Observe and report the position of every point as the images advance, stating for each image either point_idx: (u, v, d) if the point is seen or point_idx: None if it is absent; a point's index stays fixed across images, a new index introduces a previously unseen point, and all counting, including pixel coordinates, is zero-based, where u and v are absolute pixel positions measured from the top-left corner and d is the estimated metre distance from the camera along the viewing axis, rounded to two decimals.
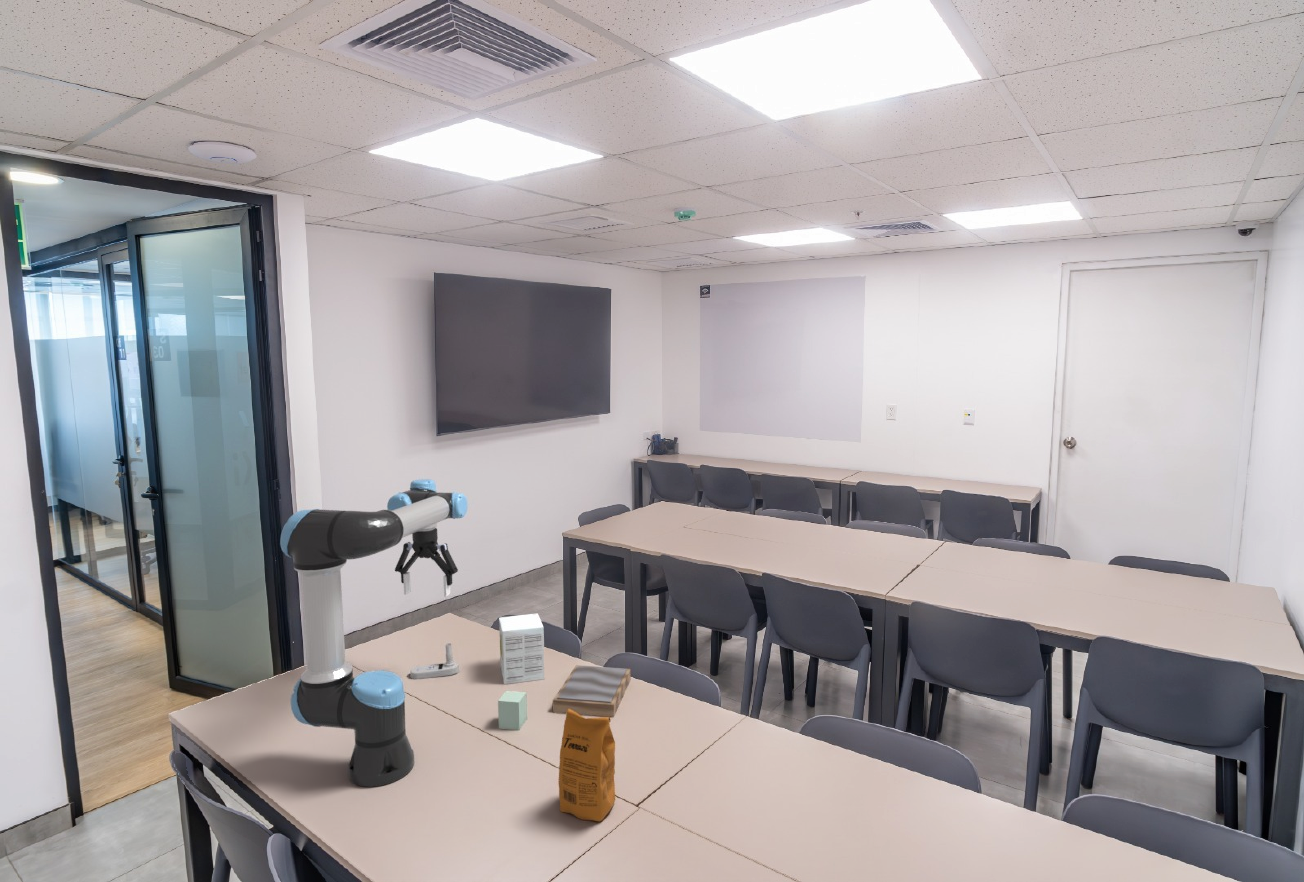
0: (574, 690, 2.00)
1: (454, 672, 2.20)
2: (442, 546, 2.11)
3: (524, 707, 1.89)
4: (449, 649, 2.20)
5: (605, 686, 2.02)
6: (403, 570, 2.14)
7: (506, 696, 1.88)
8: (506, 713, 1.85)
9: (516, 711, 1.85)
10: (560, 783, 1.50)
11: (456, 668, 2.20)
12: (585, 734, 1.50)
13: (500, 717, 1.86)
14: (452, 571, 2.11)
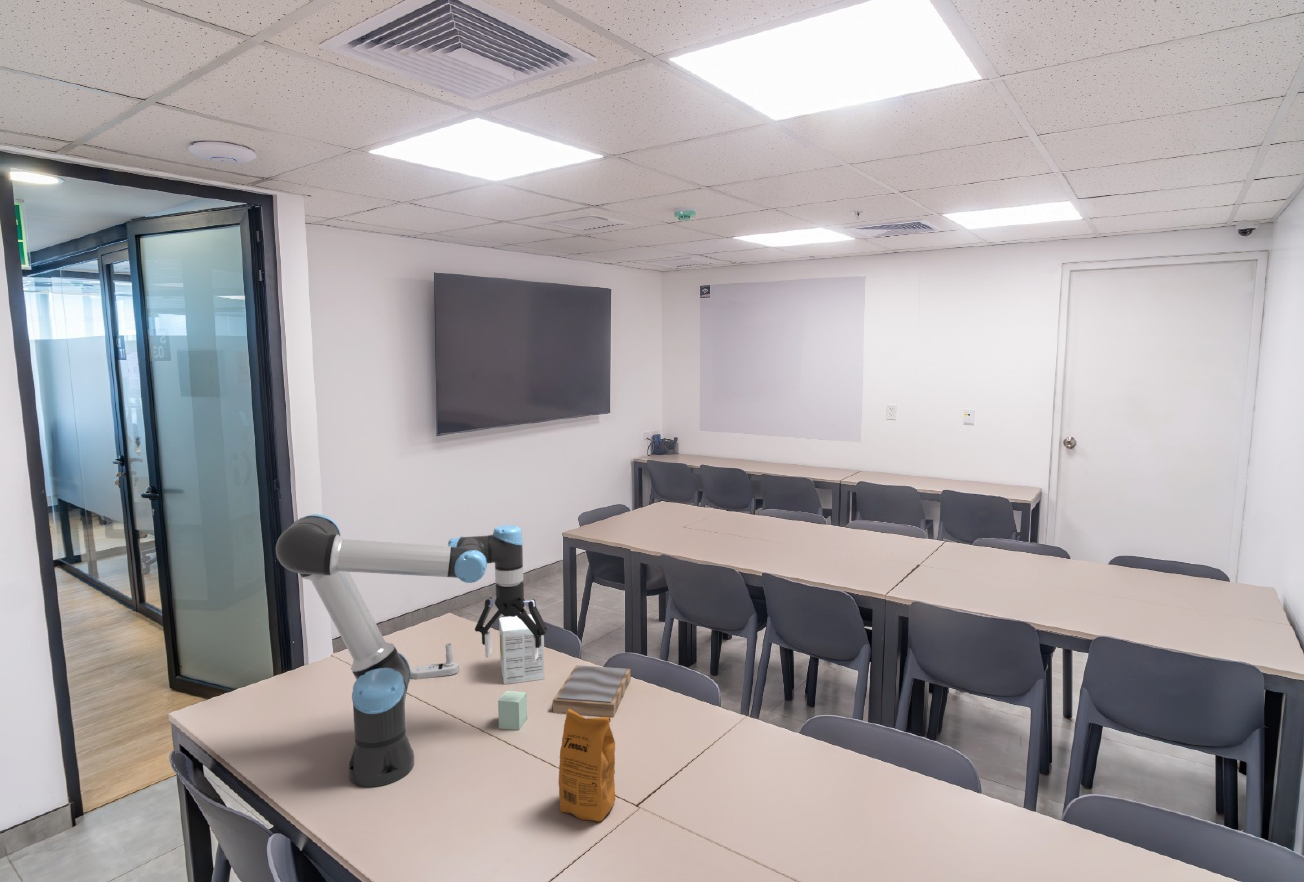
0: (574, 690, 2.00)
1: (454, 672, 2.20)
2: (530, 603, 1.83)
3: (524, 707, 1.89)
4: (449, 649, 2.20)
5: (605, 686, 2.02)
6: (484, 630, 1.86)
7: (506, 696, 1.88)
8: (506, 713, 1.85)
9: (516, 711, 1.85)
10: (560, 783, 1.50)
11: (456, 668, 2.20)
12: (585, 734, 1.50)
13: (500, 717, 1.86)
14: (542, 632, 1.83)
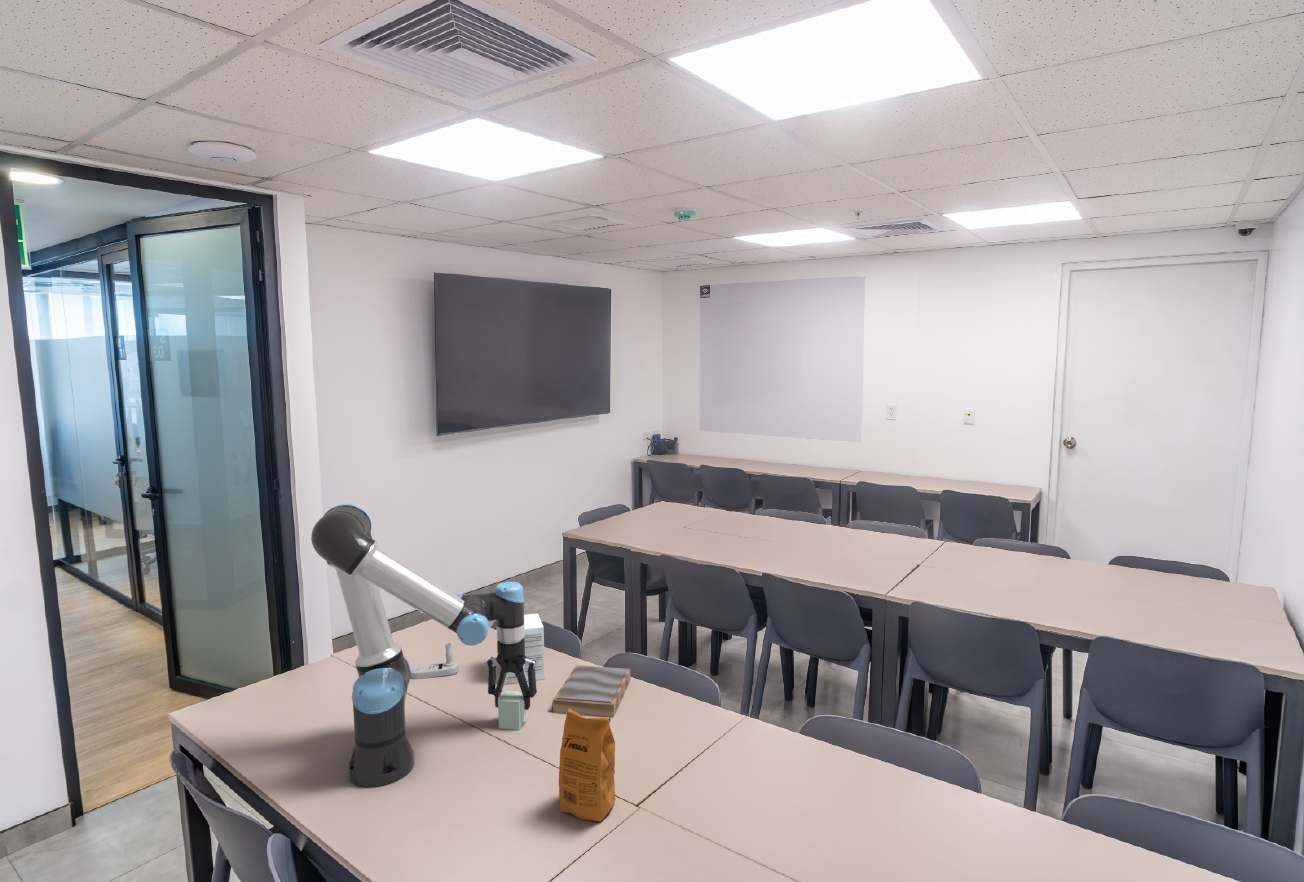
0: (574, 690, 2.00)
1: (454, 672, 2.20)
2: (531, 665, 1.85)
3: None
4: (449, 649, 2.20)
5: (605, 686, 2.02)
6: (497, 692, 1.87)
7: (506, 696, 1.88)
8: (506, 713, 1.85)
9: (516, 710, 1.85)
10: (560, 783, 1.50)
11: (456, 668, 2.20)
12: (585, 734, 1.50)
13: (500, 717, 1.86)
14: (531, 694, 1.86)
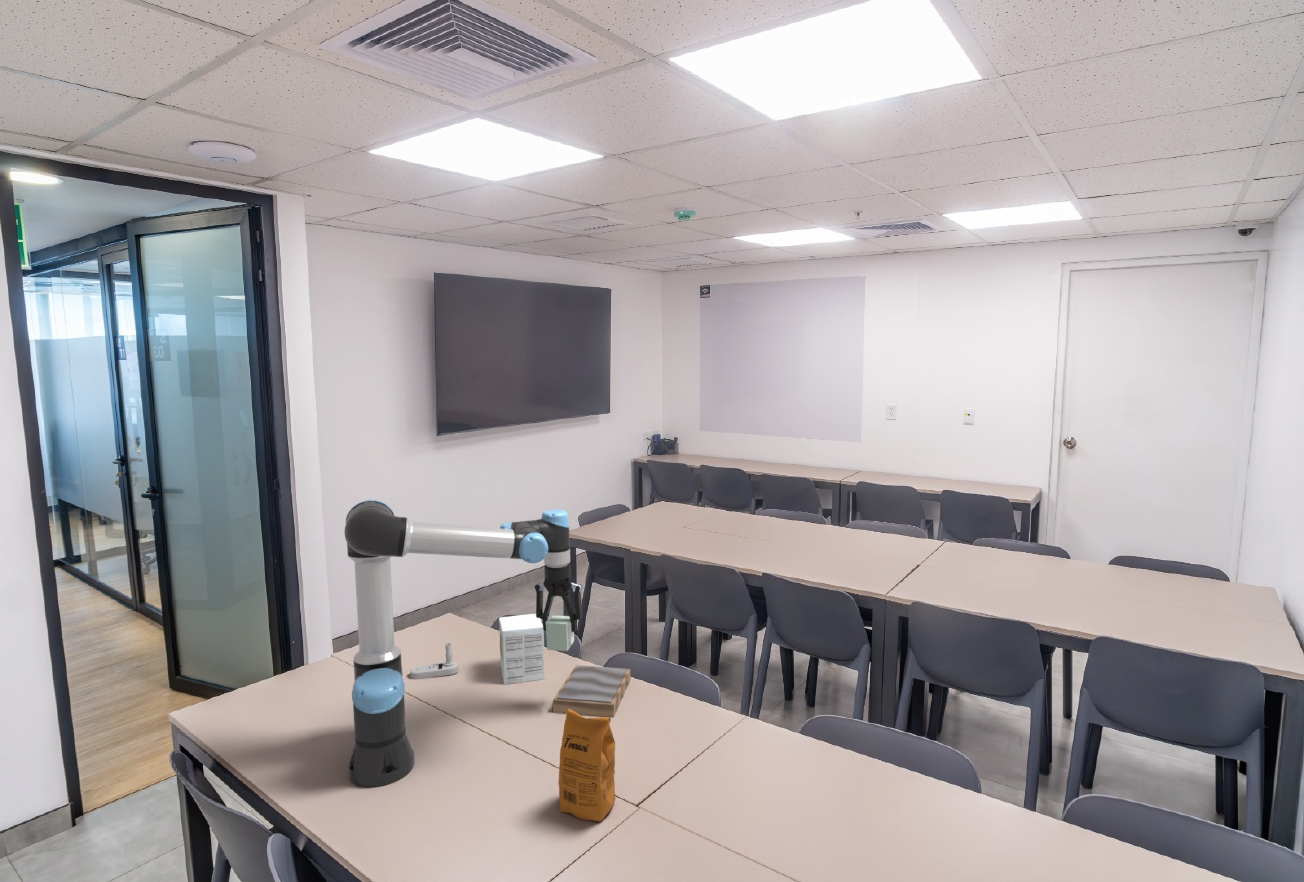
0: (574, 690, 2.00)
1: (454, 672, 2.20)
2: (578, 588, 1.92)
3: None
4: (449, 649, 2.20)
5: (605, 686, 2.02)
6: (545, 616, 1.95)
7: (553, 619, 1.95)
8: (554, 635, 1.93)
9: (564, 632, 1.92)
10: (560, 783, 1.50)
11: (456, 668, 2.20)
12: (585, 734, 1.50)
13: (548, 639, 1.93)
14: (578, 616, 1.93)
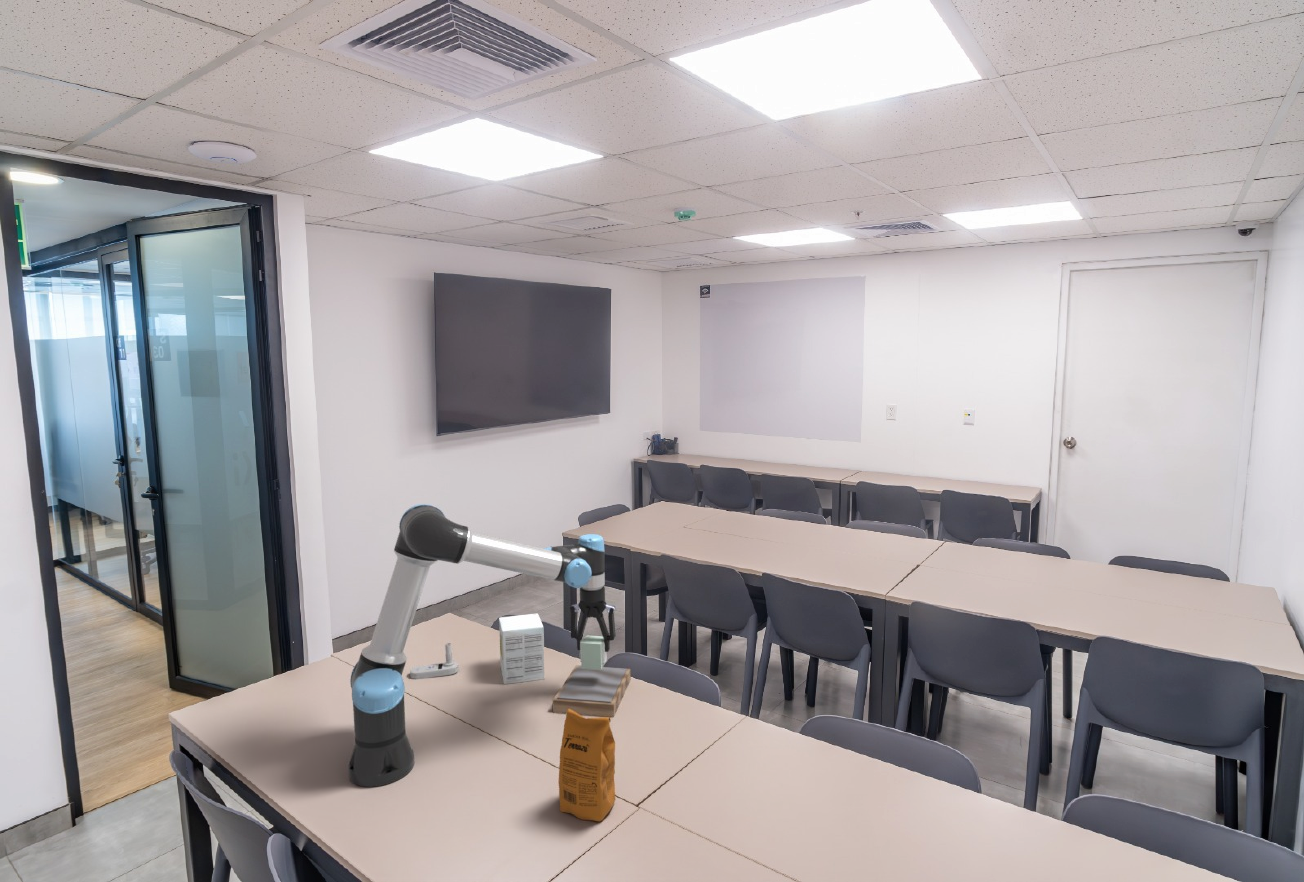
0: (574, 690, 2.00)
1: (454, 672, 2.20)
2: (612, 610, 2.00)
3: None
4: (449, 649, 2.20)
5: (605, 686, 2.02)
6: (579, 636, 2.03)
7: (587, 639, 2.04)
8: (588, 654, 2.01)
9: (598, 652, 2.01)
10: (560, 783, 1.50)
11: (456, 668, 2.20)
12: (585, 734, 1.50)
13: (583, 658, 2.02)
14: (612, 637, 2.01)
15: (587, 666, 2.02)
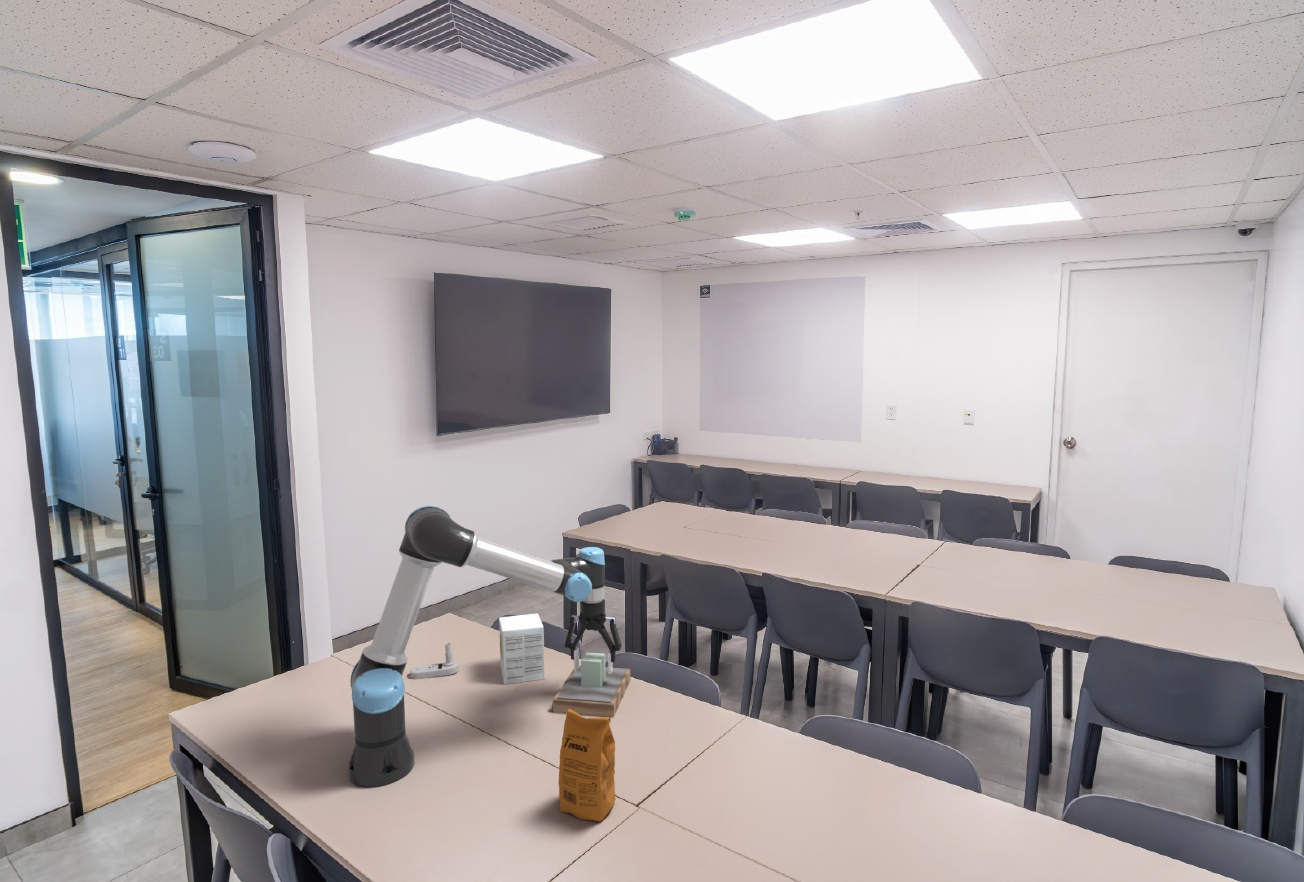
0: (574, 690, 2.00)
1: (454, 672, 2.20)
2: (612, 620, 2.01)
3: (603, 667, 2.05)
4: (449, 649, 2.20)
5: (605, 686, 2.02)
6: (573, 646, 2.04)
7: (587, 657, 2.04)
8: (588, 672, 2.02)
9: (598, 670, 2.01)
10: (560, 783, 1.50)
11: (456, 668, 2.21)
12: (585, 734, 1.50)
13: (583, 676, 2.02)
14: (618, 648, 2.01)
15: (587, 684, 2.02)
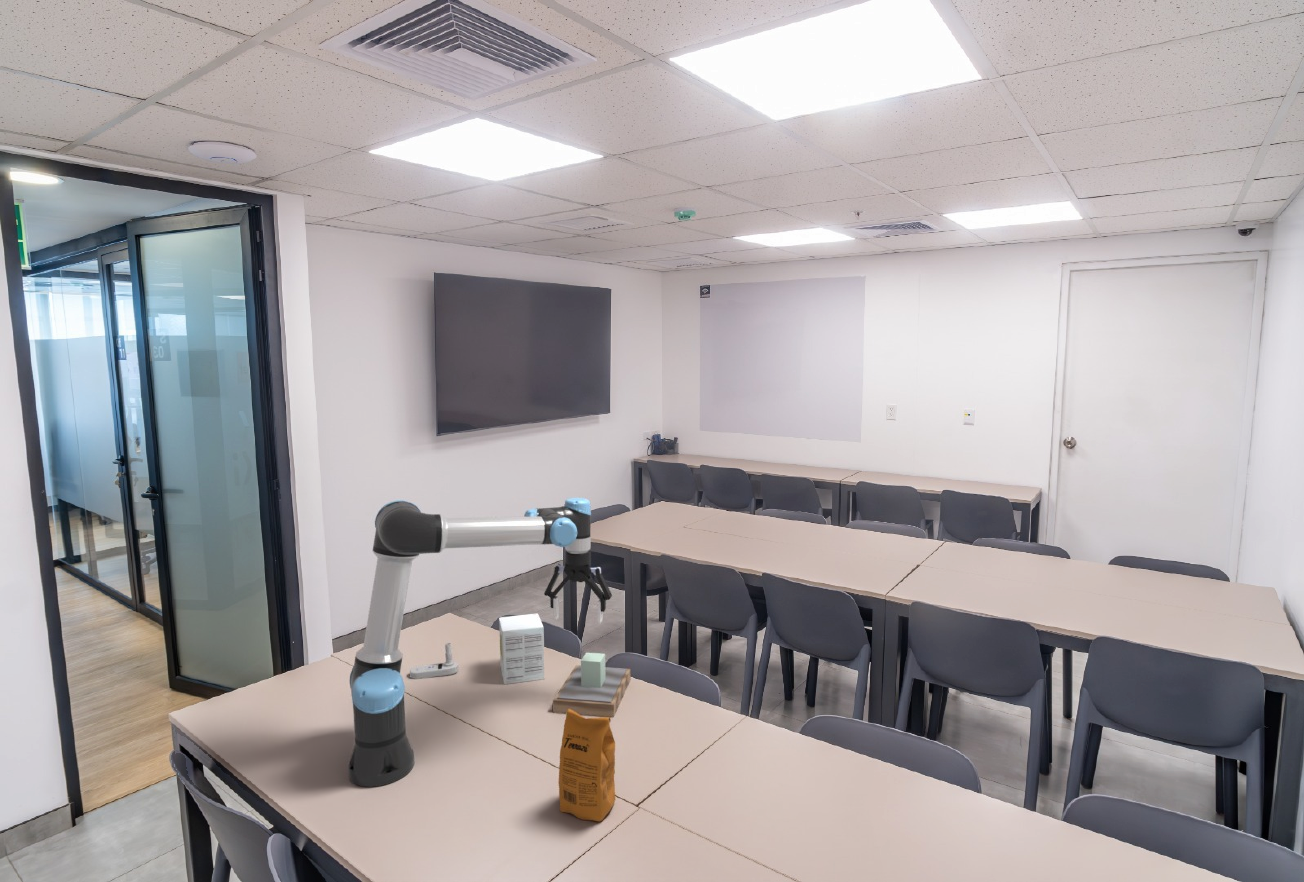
0: (574, 690, 2.00)
1: (454, 672, 2.20)
2: (597, 570, 1.98)
3: (603, 667, 2.05)
4: (448, 649, 2.20)
5: (605, 686, 2.02)
6: (553, 594, 2.01)
7: (587, 657, 2.04)
8: (588, 672, 2.02)
9: (598, 670, 2.01)
10: (560, 783, 1.50)
11: (456, 668, 2.21)
12: (585, 734, 1.50)
13: (583, 676, 2.02)
14: (607, 596, 1.98)
15: (587, 684, 2.02)
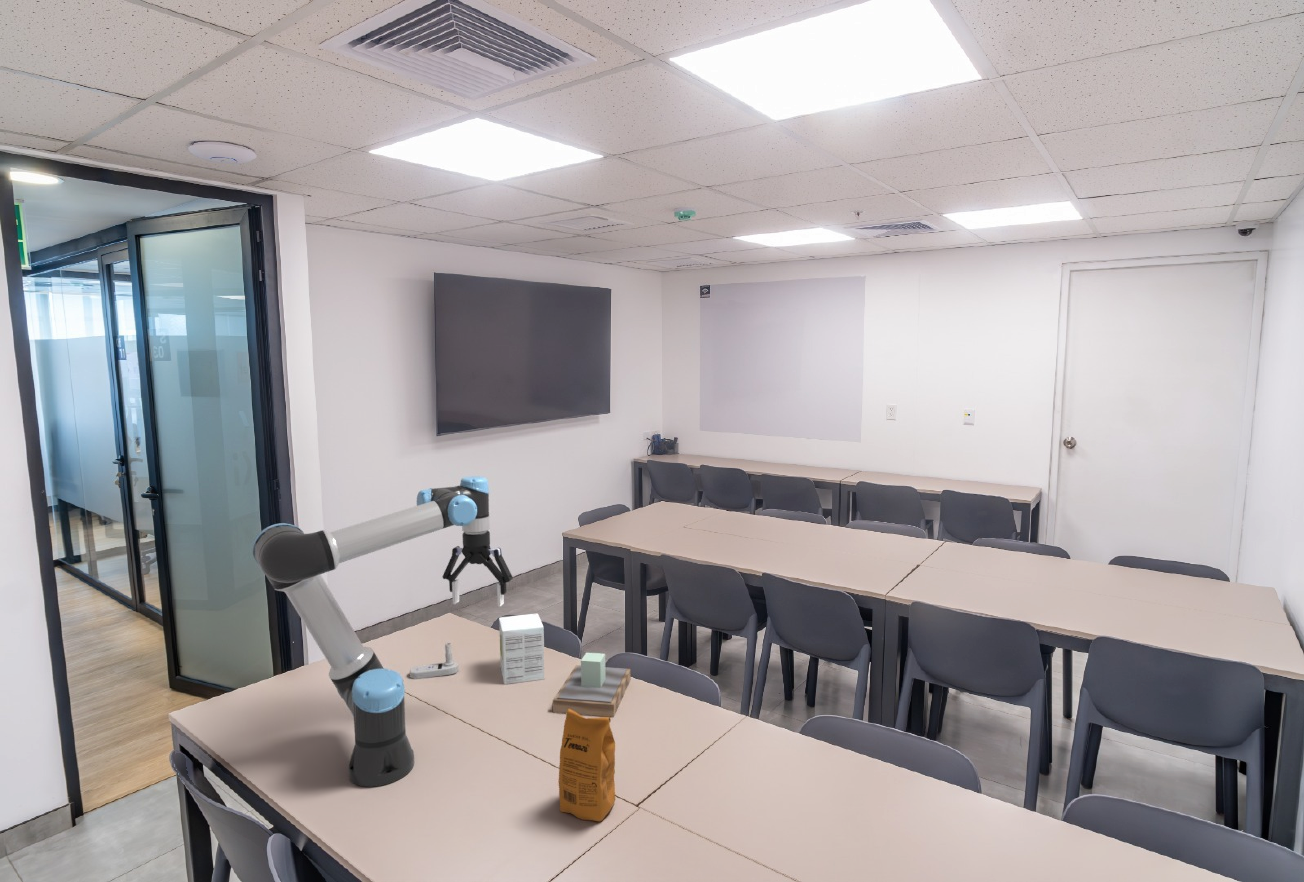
0: (574, 690, 2.00)
1: (453, 672, 2.20)
2: (496, 551, 1.90)
3: (603, 667, 2.05)
4: (448, 649, 2.20)
5: (605, 686, 2.02)
6: (452, 577, 1.93)
7: (587, 657, 2.04)
8: (588, 672, 2.02)
9: (598, 670, 2.01)
10: (560, 783, 1.50)
11: (455, 668, 2.21)
12: (585, 734, 1.50)
13: (583, 676, 2.02)
14: (507, 579, 1.90)
15: (587, 684, 2.02)
